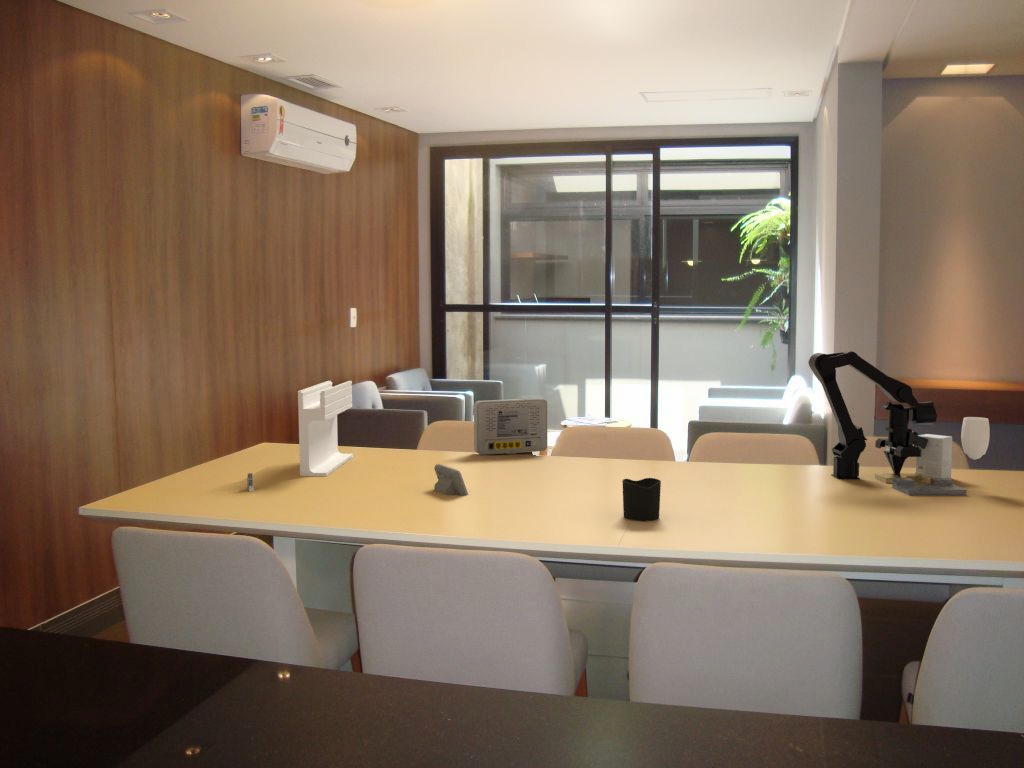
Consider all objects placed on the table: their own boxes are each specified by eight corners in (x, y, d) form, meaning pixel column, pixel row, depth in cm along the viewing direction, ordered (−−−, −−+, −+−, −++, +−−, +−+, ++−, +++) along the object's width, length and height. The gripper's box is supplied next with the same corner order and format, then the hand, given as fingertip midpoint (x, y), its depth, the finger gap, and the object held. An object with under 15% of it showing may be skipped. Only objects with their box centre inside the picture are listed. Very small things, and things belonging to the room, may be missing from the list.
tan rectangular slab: (890, 486, 275) (890, 475, 275) (874, 480, 286) (874, 469, 286) (937, 486, 276) (938, 475, 276) (920, 479, 287) (920, 469, 286)
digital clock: (470, 503, 257) (470, 469, 256) (443, 505, 255) (442, 471, 254) (457, 493, 270) (457, 461, 269) (431, 495, 268) (430, 463, 267)
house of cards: (223, 499, 265) (222, 471, 264) (255, 496, 269) (254, 469, 268) (228, 505, 257) (227, 477, 256) (260, 502, 260) (260, 474, 260)
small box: (951, 479, 287) (953, 436, 286) (941, 481, 283) (942, 438, 282) (925, 475, 293) (927, 433, 292) (915, 477, 289) (916, 435, 288)
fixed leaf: (908, 497, 261) (909, 486, 260) (891, 489, 272) (892, 478, 271) (966, 497, 261) (966, 485, 261) (947, 488, 272) (947, 477, 272)
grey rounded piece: (958, 492, 268) (961, 419, 266) (959, 487, 274) (962, 416, 272) (987, 494, 264) (990, 420, 262) (987, 489, 271) (990, 417, 269)
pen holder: (651, 526, 229) (651, 486, 229) (615, 522, 234) (616, 482, 234) (666, 518, 237) (666, 479, 237) (632, 514, 242) (632, 475, 241)
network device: (541, 453, 338) (541, 397, 336) (550, 457, 330) (550, 399, 328) (472, 457, 330) (471, 400, 328) (479, 461, 322) (479, 402, 320)
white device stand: (329, 463, 319) (328, 380, 316) (353, 463, 318) (351, 380, 316) (300, 484, 284) (297, 391, 281) (326, 484, 283) (324, 391, 281)
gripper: (939, 428, 277) (937, 481, 278) (910, 420, 295) (909, 469, 297) (902, 429, 276) (900, 481, 278) (875, 420, 295) (873, 470, 296)
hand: (896, 475), depth 287 cm, fingers closed
